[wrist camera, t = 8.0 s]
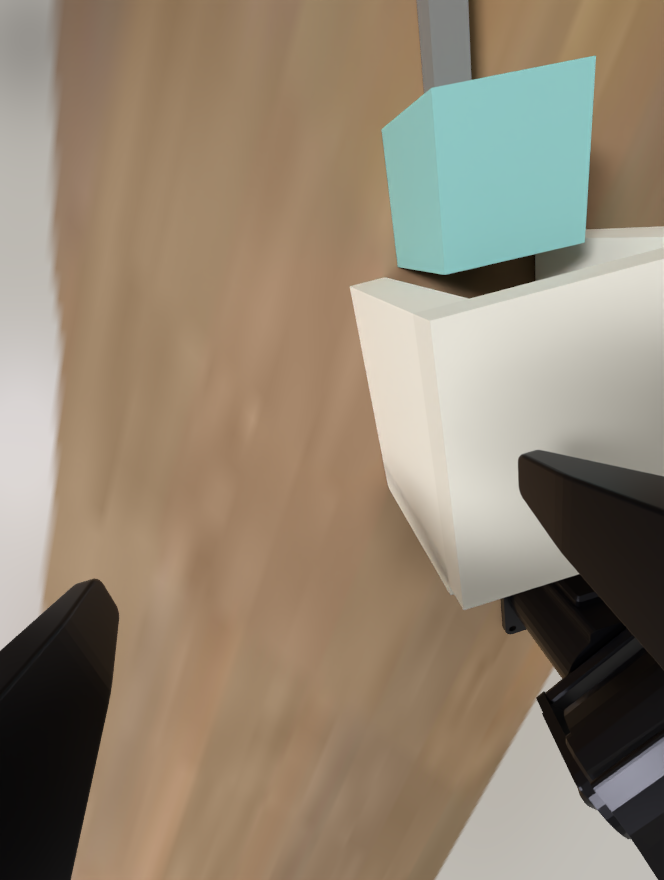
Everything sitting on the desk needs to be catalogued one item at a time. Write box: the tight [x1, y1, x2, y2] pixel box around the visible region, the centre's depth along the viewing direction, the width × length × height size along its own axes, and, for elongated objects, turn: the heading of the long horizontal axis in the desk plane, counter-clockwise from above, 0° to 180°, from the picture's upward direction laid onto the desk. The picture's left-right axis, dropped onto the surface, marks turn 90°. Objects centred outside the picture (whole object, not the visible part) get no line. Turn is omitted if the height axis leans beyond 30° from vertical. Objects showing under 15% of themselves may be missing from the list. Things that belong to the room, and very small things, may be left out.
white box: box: [350, 227, 664, 610], centre depth 17 cm, size 10×10×9 cm
